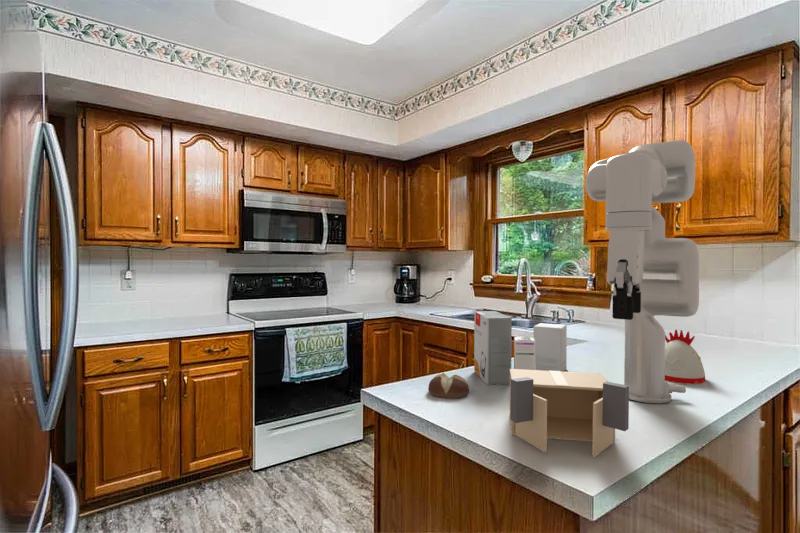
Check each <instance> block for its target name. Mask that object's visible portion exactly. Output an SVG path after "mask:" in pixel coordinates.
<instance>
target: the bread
mask: <svg viewBox="0 0 800 533" xmlns="http://www.w3.org/2000/svg"><path fill="white" fill-rule="evenodd" d="M469 387H470V386H469V384H468V381H466V379H465V378H464V377H462V376H461V375H457V374H453V375H452V376H450V377H449V375H447V374H446V373H445V372H442V373H439V374H437V375H435V376H434V377H432V379H430V381H429V383H428V388H427V389H428V393H429V395H431V396H432V397H434V398H438V399H439V398H441V399H461V398H464V397H465V396H467V395H468V394H469V393H470V388H469Z"/></svg>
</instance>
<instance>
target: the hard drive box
mask: <svg viewBox="0 0 800 533" xmlns="http://www.w3.org/2000/svg"><path fill="white" fill-rule="evenodd" d="M473 314H474V316H473V317H474V318H473V319H474V324H473V327H474V331H473V334H474V337H473V338H474V339H473V340H474V341H473V342H474V345H473V346H474V347H473V349H474V352H473V354H474V355H473V356H474V357H473V358H474V359H473V362H474V364H473V365H474V372H475V374H476V375H477V376H478V377H480V379H481V380H482V382H484V383H485V384H486V385H487V384H488V385H487V386H494V385H493V384H507V385H508V384H509V385H510V369H512V344H513V343H512V339H513V338H512V332H513V331H512V327H513V326H512V324H513V323H512V322H513V321H512V317H510V316H508V315H506V314H503V313H501V312H498V311H496V310H479V311H478V310H475V311H474V312H473Z"/></svg>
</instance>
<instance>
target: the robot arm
mask: <svg viewBox="0 0 800 533" xmlns="http://www.w3.org/2000/svg"><path fill="white" fill-rule="evenodd" d="M695 188H696V157H695V151H694V148H693V146H692V145H691V143H690V142H688V141H687V140H684V139H683V140H680V139H678V140H670V141H664V142H663V141H662V142H653V143H645V144H641V145H636V146H635V147H633V148H632V149H631V150H629V151H628V152H625V153H622V154H617V155H615V156H612V157H607V158H605V159H601V160H598V161H596V162H595V163H593V164H592V165H591V166H590V168H589V169H588V172H587V174H586V178H585V189H586V190H585V191H586V193H587V196H588V197H589V198H590V199H591V200H593V201H595V202H605V232H607V233H608V232H610V233H609V239H608V249H607V250H608V252H607V267H606V270H607V271H606V282H607V283H608V285H613V289H612V290H613V292H612V294H613V295H612V315H611V316H612V318H613V319H615V320H624V363H623V364H624V365H623V366H624V367H623V368H624V370H623V372H624V373H623V374H624V375H623V378H624V379H623V381H624V382H623V385H627V386H629V400H631V401H635V402H639V403H646V404H667V403H669V402H671V401H672V398H673V397H672V393H678V394H681V393H682V394H685V393H686V391H687V390H686V389H687V388H686V386H685V385H682V384H676V383H673V382H672V383H671V382H670V383H669V381H666V380H665V344H666V340H665V335H666V332H665V329H664V327H663V326H662V325H661V324H660V323H661V322H660V321H658V320H657V319H656V318H655V316H656V317H657V316H664V317H665V316H667V317H681V318H683V317H685V318H687V317H692V316H694V315H696V314H697V312H698V311H699V310H698V309H699V306H700V305H699V304H700V256H699V248H698V245H697V243H696V242H695V241H694V240H692V239H689V238H687V237H677V238H676V237H674V238H671V237H670V238H667V237H666V220H665V218H664V217H663V215H662V214H661V213H660V212H659V211H658V210H657V209H656V208H655V207H653V205H652V204H662V203H663V204H664V203H665V204H666V203H681V202H686V201H688V200H689V199H691V198H692V197H693V195H694V193H695ZM646 274H647V275H674V276H676V277H677V278H678V279H668V278H667V279H663V278H661V279H660V278H644V275H646Z"/></svg>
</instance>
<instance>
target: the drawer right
mask: <svg viewBox="0 0 800 533" xmlns="http://www.w3.org/2000/svg"><path fill="white" fill-rule="evenodd" d="M629 404H630V399H629V386H627V385H624V384H622V383H621V384H620V383H615V382H611V381H608V382H605V383H603V398H601V399H599V400H597V401H596V402H594V403H593V442H592V457H596V456H598V455H599V454H600V453H602V452H603V451H604V450H606V449H607V448H608V447H610V446H611V445H612V444H614V443H613V428H614V429H615V430H619V431H622V432H626V431H627V430H629V428H630V427H629V422H630V421H629V420H630V417H629V416H630V415H629V414H630V405H629Z"/></svg>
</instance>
